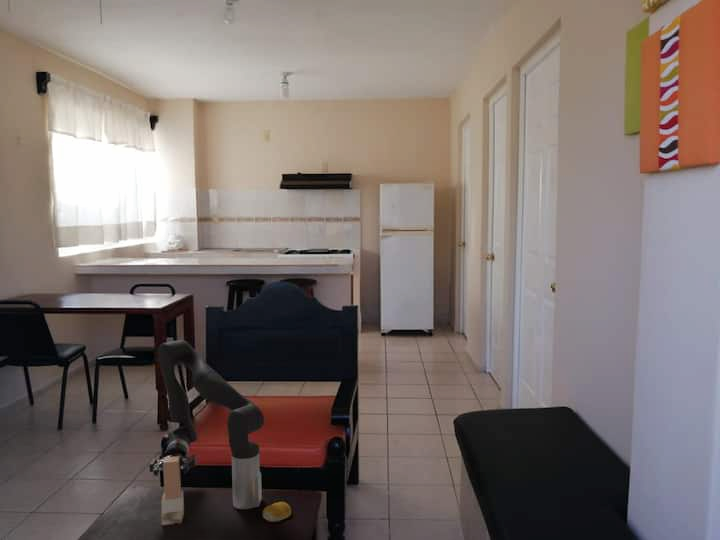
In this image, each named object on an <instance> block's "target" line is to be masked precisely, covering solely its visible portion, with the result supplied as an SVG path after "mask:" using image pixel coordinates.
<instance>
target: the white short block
mask: <svg viewBox="0 0 720 540" xmlns="http://www.w3.org/2000/svg"><path fill="white" fill-rule="evenodd" d="M160 502H161V513H168V512H177V511H182V507H183V503H185V501H184V490H181V494H180V498H176V499H167V500H165V496H164V493H163V495H162V498H161V501H160Z"/></svg>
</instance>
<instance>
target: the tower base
mask: <svg viewBox="0 0 720 540" xmlns="http://www.w3.org/2000/svg"><path fill="white" fill-rule="evenodd" d="M184 503H185V502H184ZM184 503H183V507H182V511H177V512H168V513H162V512H161V525H162V526H167V525H168V526H169V525H175V523H178V524H182V523H183V520H184V515H185V505H184Z"/></svg>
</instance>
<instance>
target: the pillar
mask: <svg viewBox="0 0 720 540" xmlns="http://www.w3.org/2000/svg"><path fill="white" fill-rule="evenodd" d="M181 486H182V484H181V468H180V457H179V456H175V457H165V459H164V462H163V489H164V490H163V494H164V496H165V500H167V499H176V498H180V494H181V491H182V487H181Z"/></svg>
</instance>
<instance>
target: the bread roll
mask: <svg viewBox="0 0 720 540" xmlns="http://www.w3.org/2000/svg"><path fill="white" fill-rule="evenodd" d="M291 515H292V508H291V506H290V505H289V504H288V503H287V502H285V501H279V502H274V503H273V504H270V505H267V506H265V507H264V509H263V511H262V517H263V519H265V520H266V521H268V522H272V523H273V522H280V521H282V520H284V519H287V518H289V517H290V516H291Z"/></svg>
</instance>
